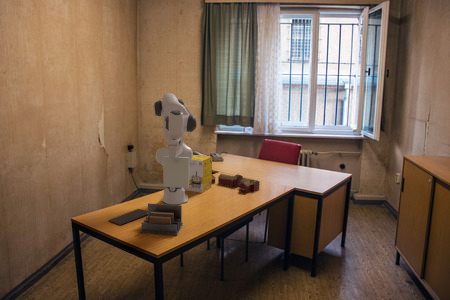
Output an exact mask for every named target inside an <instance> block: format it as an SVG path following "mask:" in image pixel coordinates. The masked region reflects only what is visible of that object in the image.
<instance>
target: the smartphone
mask: <svg viewBox="0 0 450 300" xmlns="http://www.w3.org/2000/svg"><path fill="white" fill-rule="evenodd" d="M146 217H148V210H144V209H141V208H138V209H137V208H136V209H134V210H132V211H129V212H127V213H123V214H120V215H118V216H116V217H113V218H111V219H108V222H109V223H112V224H114V225H117V226H119V227H121V226H125V225H127V224H130V223H132V222H135V221H137V220H140V219H143V218H146Z"/></svg>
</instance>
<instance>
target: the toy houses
mask: <svg viewBox="0 0 450 300" xmlns="http://www.w3.org/2000/svg"><path fill="white" fill-rule="evenodd" d="M217 181H218V183H217V184H218V185H221V186H226V187H230V188H237V189H239V190H238V191H239V193H242V194H248V193H250V192H254V193H255V192H256V191H259V190H260V185H261V184H260V183H261V182H260V181H259V180H258V179H257V180H256V179H251V178H247V177H244V176H243V175H241V174H239V173H237V174H235V175H229V174H226V173H220V174H219V176H218V177H217ZM214 184H216V176H214V174H212V184H211V185H214Z"/></svg>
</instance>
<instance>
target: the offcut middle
mask: <svg viewBox="0 0 450 300" xmlns="http://www.w3.org/2000/svg"><path fill="white" fill-rule="evenodd" d="M150 216H157V217H171V221H173V222H174V213H162V212H151V213H150Z"/></svg>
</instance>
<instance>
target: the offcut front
mask: <svg viewBox="0 0 450 300" xmlns="http://www.w3.org/2000/svg"><path fill="white" fill-rule="evenodd" d="M149 223H160V224H171V217H157V216H150V217H149Z"/></svg>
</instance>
